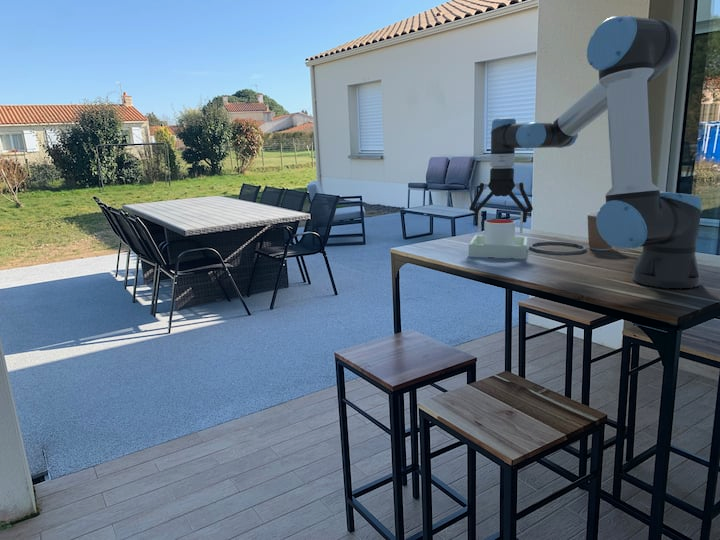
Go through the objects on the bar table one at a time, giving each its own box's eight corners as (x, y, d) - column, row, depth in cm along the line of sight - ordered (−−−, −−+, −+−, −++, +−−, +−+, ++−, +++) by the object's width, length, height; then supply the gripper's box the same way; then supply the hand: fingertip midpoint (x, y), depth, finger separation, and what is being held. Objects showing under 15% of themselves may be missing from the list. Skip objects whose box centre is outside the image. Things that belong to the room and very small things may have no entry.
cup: (511, 247, 178) (513, 219, 176) (515, 253, 168) (517, 223, 166) (482, 247, 179) (483, 219, 177) (484, 253, 170) (485, 223, 167)
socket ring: (588, 255, 166) (588, 252, 166) (528, 253, 172) (528, 250, 171) (583, 245, 183) (584, 242, 182) (529, 243, 189) (529, 240, 188)
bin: (525, 259, 163) (526, 246, 162) (468, 256, 169) (468, 244, 168) (526, 248, 179) (527, 236, 178) (474, 246, 185) (474, 235, 184)
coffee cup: (607, 252, 169) (611, 216, 167) (578, 248, 177) (580, 214, 174) (622, 248, 176) (625, 213, 173) (592, 244, 183) (595, 211, 181)
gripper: (462, 168, 168) (460, 232, 173) (542, 167, 160) (539, 234, 165) (465, 167, 175) (463, 229, 179) (542, 166, 167) (539, 230, 172)
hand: (499, 231), depth 172 cm, fingers open, 13 cm apart
